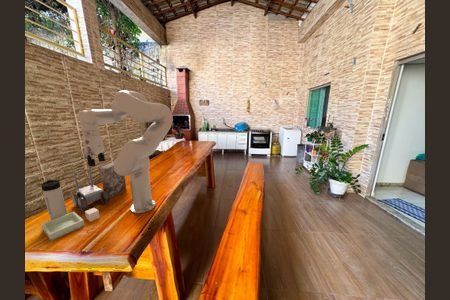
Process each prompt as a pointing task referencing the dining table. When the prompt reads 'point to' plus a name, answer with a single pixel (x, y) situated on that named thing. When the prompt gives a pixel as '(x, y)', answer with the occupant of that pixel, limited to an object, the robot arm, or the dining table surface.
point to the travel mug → (54, 199)
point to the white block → (92, 214)
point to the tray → (62, 225)
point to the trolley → (88, 194)
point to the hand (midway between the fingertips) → (97, 163)
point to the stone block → (112, 180)
